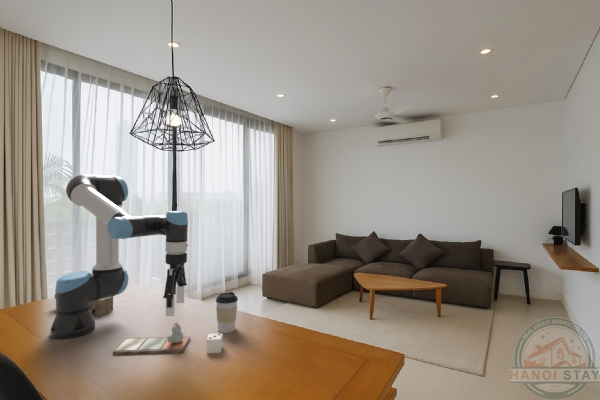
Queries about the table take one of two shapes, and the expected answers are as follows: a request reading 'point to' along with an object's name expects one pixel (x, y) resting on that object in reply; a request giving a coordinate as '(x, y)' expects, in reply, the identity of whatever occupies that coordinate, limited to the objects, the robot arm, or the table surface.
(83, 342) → the table surface
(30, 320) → the table surface
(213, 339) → the die
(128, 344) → the game board
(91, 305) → the block tower
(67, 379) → the table surface
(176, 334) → the white lumpy piece
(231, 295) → the coffee cup
